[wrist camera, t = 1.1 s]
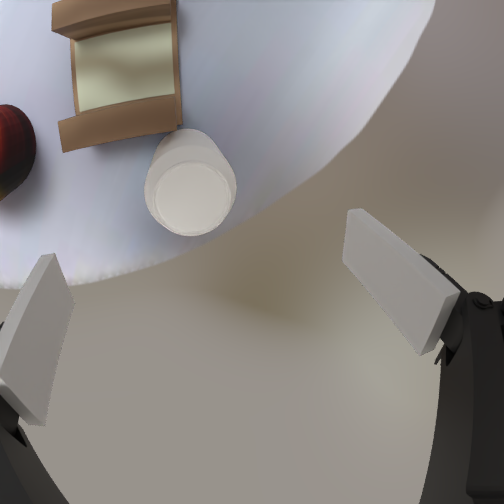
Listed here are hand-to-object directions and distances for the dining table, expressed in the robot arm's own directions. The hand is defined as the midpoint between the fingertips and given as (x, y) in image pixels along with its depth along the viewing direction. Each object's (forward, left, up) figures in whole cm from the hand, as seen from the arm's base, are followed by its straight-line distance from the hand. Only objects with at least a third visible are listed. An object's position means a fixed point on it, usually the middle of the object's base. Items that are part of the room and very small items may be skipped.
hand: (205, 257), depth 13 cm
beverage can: (0, 0, -19) cm, 19 cm away
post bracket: (-10, -5, -19) cm, 22 cm away
